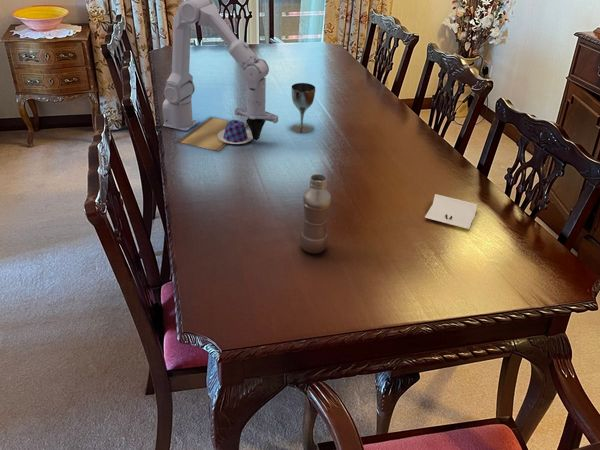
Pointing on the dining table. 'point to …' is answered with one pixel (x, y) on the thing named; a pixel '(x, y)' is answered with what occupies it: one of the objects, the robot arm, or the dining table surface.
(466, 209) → the folded paper
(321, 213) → the plastic bottle
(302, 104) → the wine glass
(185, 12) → the robot arm
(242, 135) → the pudding
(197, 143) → the placemat
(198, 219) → the dining table surface
